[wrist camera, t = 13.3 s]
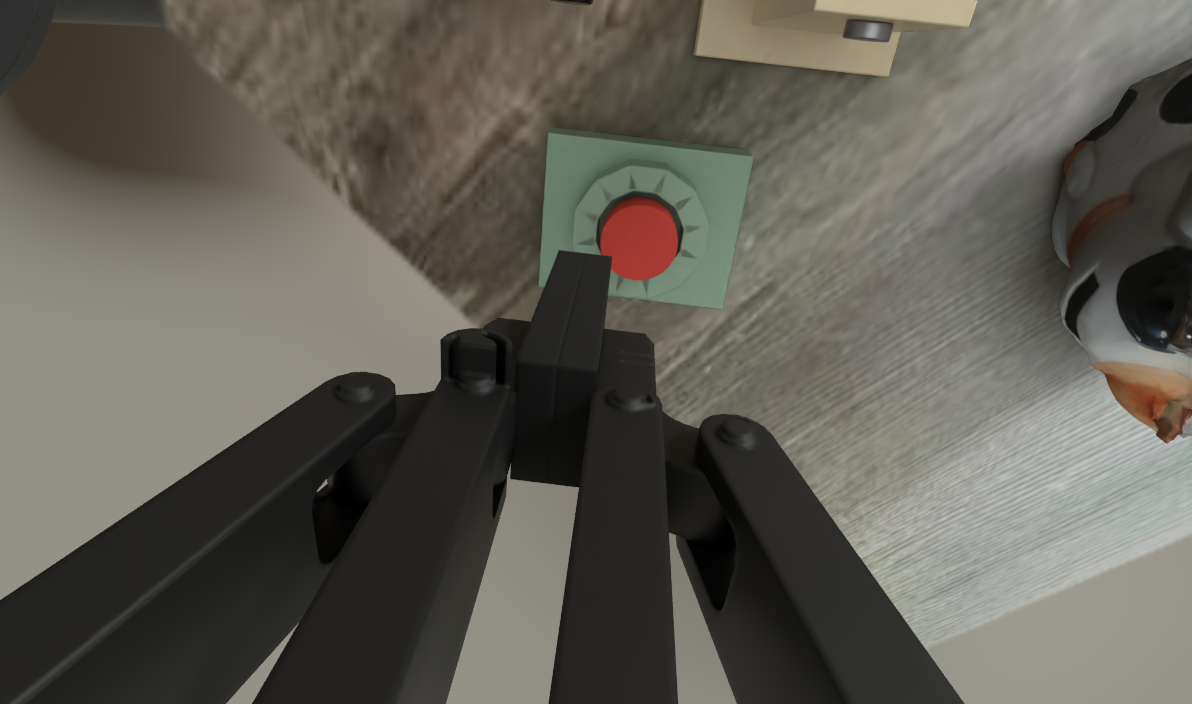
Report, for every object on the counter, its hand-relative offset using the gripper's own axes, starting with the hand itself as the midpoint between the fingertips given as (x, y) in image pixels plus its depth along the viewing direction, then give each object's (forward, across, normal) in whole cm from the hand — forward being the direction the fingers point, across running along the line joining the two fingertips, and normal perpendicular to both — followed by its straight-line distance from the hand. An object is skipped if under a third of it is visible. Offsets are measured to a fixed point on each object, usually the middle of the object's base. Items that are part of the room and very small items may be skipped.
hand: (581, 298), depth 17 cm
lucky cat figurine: (+17, +28, +1) cm, 33 cm away
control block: (+17, +2, -2) cm, 17 cm away
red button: (+13, +2, -2) cm, 13 cm away
